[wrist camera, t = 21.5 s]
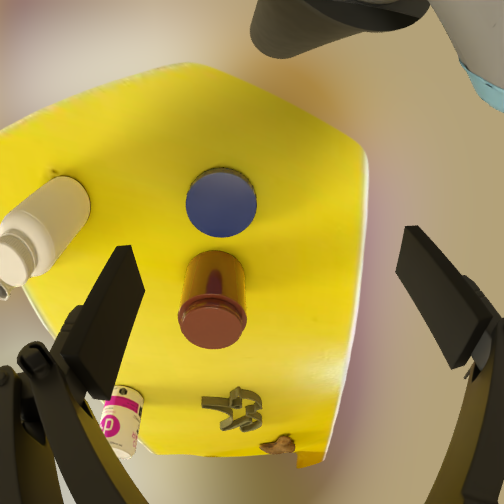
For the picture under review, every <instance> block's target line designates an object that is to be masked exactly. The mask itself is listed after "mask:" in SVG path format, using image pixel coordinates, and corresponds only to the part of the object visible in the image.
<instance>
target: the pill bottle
mask: <svg viewBox="0 0 504 504" xmlns="http://www.w3.org/2000/svg"><path fill="white" fill-rule="evenodd" d="M89 213H90V201H89V197H88V195H87V193H86V191H85V189H84V188H83V186H82V185H81V184H80V183H79V182H77V181H76V180H74V179H72V178H70V177H64V176H61V177H56V178H54V179H52V180H50V181H48V182H47V183H46V184H44V185H43V186H42V187H40V188H39V189H38V190H36V191H35V192H34V193H33V194H31V195H30V196H29V197H27V198H26V199H25V200H24V201H22V202H21V203H20V204H19V205H18V206H16V207H15V208H14V209H13V210H12V211H10V212H9V213H8V214H7V215H6V216H5V217H4V219H3V221H2V223H1V225H0V278H1V279H2V280H3V281H4V282H6V283H7V284H9V285H11V286H15V287H18V286H22V285H24V284H25V283H26V282H27V280H28V279H29V278H30V276H39V275H42V274H44V273H46V272H47V271H48V270H49V269H50V268H51V267H52V266H53V264H54V263H55V262H56V260H57V259H58V258H59V256H60V255H61V254H62V252H63V251H64V250H65V248H66V247H67V246H68V245H69V243H70V242H71V241H72V239H73V238H74V237H75V236H76V234H77V233H78V232H79V231H80V229H81V228H82V227H83V226H84V224H85V223H86V221H87V219H88V217H89Z"/></svg>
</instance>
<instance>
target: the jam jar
mask: <svg viewBox="0 0 504 504" xmlns="http://www.w3.org/2000/svg"><path fill="white" fill-rule="evenodd" d="M178 322H179V324H180V326H181V327H180V328H181V331H182V333H183V334H184V336H185V337H186V338H187V339H188V340H189V341H190V342H191V343H193V344H194V345H196V346H199V347H202V348H206V349H221V348H225V347H228V346H230V345H232V344H234V343H235V342H236V341H237V340H238V339H239V337H240V336H241V334H242V331H243V330H244V328H245V326H246V323H247V313H246V296H245V279H244V270H243V267H242V265H241V263H240V262H239V261H238V260H237V259H236V258H235V257H234V256H232V255H230V254H228V253H226V252H222V251H207V252H203V253H201V254H199V255H197V256H196V257H194V258H193V259H192V260H191V262H190V263H189V265H188V267H187V271H186V276H185V281H184V286H183V291H182V296H181V301H180V306H179V312H178Z"/></svg>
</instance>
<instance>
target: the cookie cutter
mask: <svg viewBox="0 0 504 504" xmlns="http://www.w3.org/2000/svg"><path fill="white" fill-rule="evenodd" d="M237 396H239V397H237ZM242 398H243V399H250V400H253V401H255V403H254V405H250V406H246V415H245V416H243V417H241V418H239V419H237V420H234V421H233V411H232V409H231V408H234V409H240V408H242ZM201 405H202V408H207V409H213V410H218V411H221V412H224V413H226V414H228V415H229V416H230V417H229V418H227V419H226V420H224V421H221V422H220V429H221V430H222V431H226V430H230V429H234V428H236V427H239V426H240V430H241V431H242V432H248V431H252V430H255V429H257V428H259V427H261V425H262V416H261V414H260V413H258V412H256V410H259V409H262V401H261V399H260V397H259V396H258V395H257V394H256V393H254V392H252V391H248V390H241V389H240V387H237V388H236V389H235V390H233V391H231V392H230V397H229V399H226V398H217V397H202V404H201ZM252 418H254V419H256V420H257V421H256V422H253V423H252Z"/></svg>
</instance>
